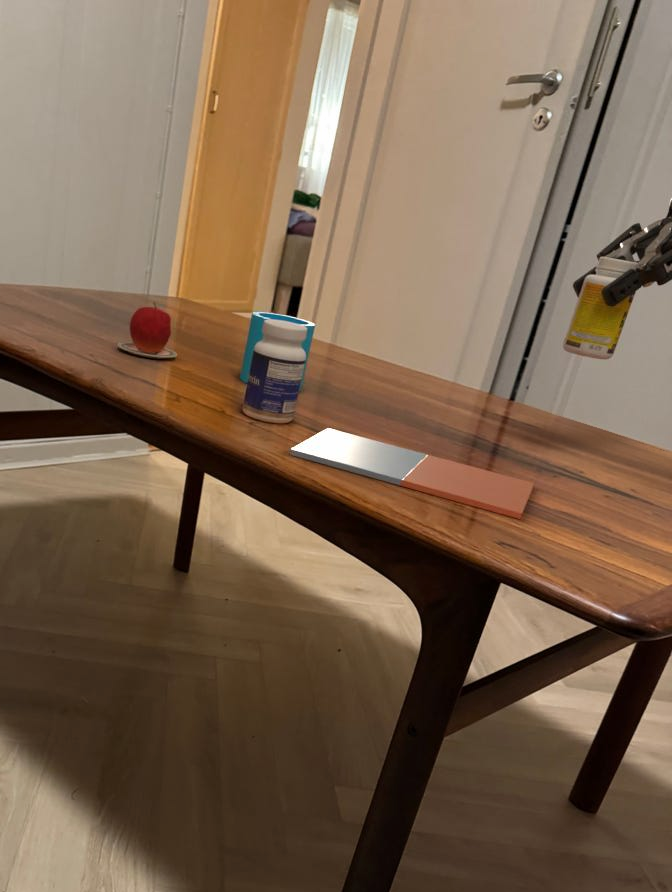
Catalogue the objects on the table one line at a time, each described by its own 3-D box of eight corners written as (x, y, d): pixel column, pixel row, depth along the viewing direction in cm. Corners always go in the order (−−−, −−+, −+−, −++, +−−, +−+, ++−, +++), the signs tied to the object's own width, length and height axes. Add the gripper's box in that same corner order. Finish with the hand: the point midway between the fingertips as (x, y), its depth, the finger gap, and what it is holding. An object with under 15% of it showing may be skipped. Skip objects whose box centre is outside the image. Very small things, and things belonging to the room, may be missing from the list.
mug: (281, 394, 113) (295, 326, 109) (227, 377, 116) (239, 311, 113) (325, 387, 122) (340, 325, 118) (275, 372, 126) (287, 311, 122)
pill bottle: (237, 407, 102) (255, 315, 97) (286, 414, 103) (306, 323, 98) (245, 420, 97) (264, 323, 92) (297, 427, 98) (318, 332, 93)
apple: (150, 347, 127) (157, 298, 124) (188, 361, 122) (196, 311, 119) (105, 346, 122) (111, 295, 119) (143, 360, 117) (150, 308, 114)
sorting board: (532, 488, 91) (534, 483, 91) (520, 519, 80) (522, 513, 80) (326, 433, 98) (328, 427, 97) (289, 454, 87) (290, 448, 86)
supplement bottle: (616, 363, 100) (651, 265, 96) (565, 353, 101) (598, 255, 97) (605, 356, 105) (638, 263, 101) (557, 347, 106) (588, 254, 102)
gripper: (677, 164, 102) (546, 260, 105) (765, 164, 89) (613, 273, 92) (699, 224, 105) (571, 315, 108) (786, 231, 93) (639, 334, 96)
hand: (591, 295), depth 100 cm, fingers closed on supplement bottle, 5 cm apart
